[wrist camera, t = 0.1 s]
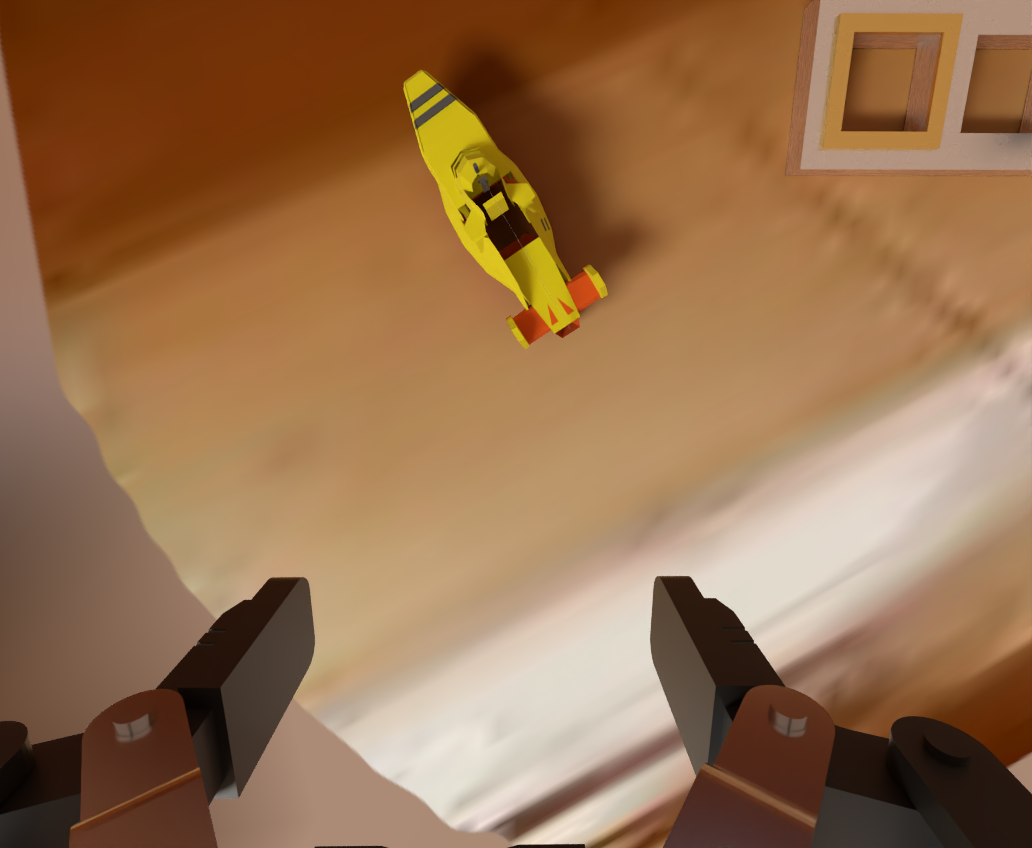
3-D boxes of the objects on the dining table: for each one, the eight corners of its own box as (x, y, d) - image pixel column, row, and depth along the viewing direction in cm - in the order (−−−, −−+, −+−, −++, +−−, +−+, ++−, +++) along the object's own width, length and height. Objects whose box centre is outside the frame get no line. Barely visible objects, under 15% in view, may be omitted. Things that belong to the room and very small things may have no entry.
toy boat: (529, 352, 40) (535, 372, 30) (386, 131, 36) (340, 73, 27) (602, 304, 39) (632, 309, 30) (463, 73, 36) (445, -9, 26)
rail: (804, 9, 35) (824, -10, 33) (1199, 11, 35) (1245, -8, 33) (785, 175, 37) (802, 168, 35) (1154, 176, 37) (1195, 169, 35)
